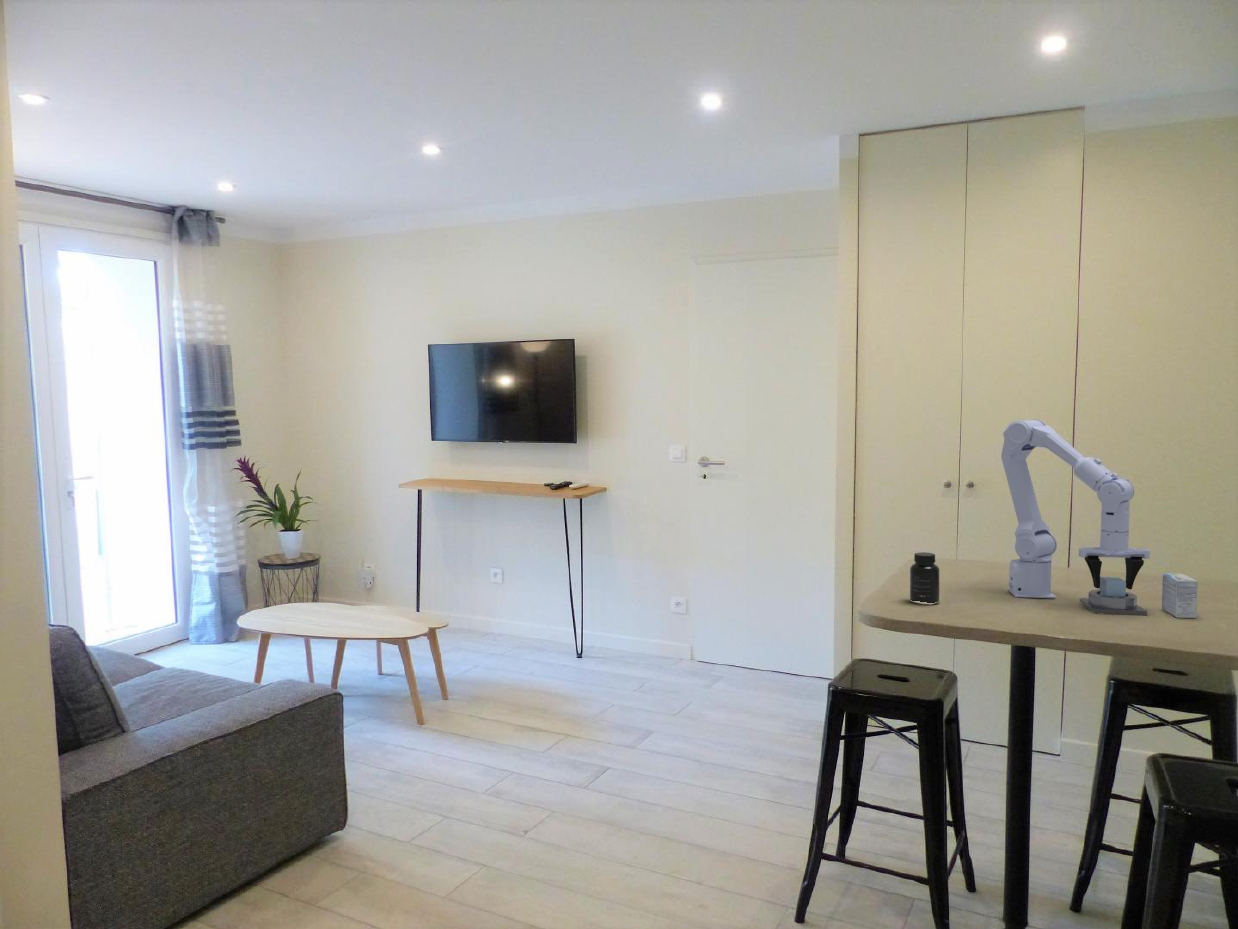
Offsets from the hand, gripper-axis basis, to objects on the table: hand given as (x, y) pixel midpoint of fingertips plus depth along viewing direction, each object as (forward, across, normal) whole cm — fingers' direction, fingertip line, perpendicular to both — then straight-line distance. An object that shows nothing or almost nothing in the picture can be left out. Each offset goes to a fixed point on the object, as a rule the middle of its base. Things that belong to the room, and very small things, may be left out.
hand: (1112, 588), depth 204 cm
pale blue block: (+4, 0, 0) cm, 4 cm away
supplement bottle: (+5, -42, 0) cm, 42 cm away
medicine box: (+5, +13, -3) cm, 14 cm away
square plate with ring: (+5, 0, 0) cm, 5 cm away
